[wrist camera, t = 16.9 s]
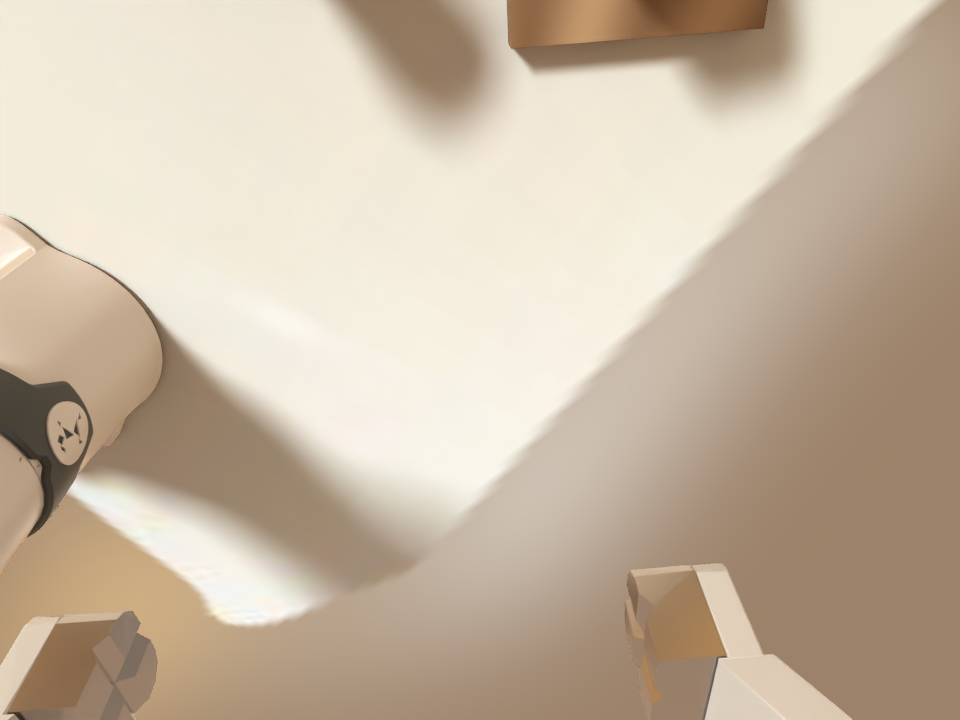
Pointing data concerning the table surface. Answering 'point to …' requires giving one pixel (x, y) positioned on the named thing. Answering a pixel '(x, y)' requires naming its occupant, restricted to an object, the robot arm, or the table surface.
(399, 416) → the table surface
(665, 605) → the robot arm
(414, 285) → the table surface
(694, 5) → the walnut plate
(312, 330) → the table surface
